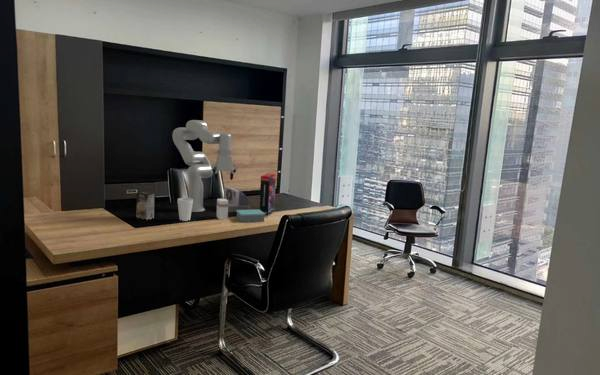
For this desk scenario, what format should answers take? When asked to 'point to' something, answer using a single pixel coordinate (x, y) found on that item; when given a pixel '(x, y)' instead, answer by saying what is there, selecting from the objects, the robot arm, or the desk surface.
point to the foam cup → (185, 208)
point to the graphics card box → (267, 193)
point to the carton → (222, 209)
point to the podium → (250, 215)
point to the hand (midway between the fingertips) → (223, 179)
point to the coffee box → (145, 205)
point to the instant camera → (236, 200)
